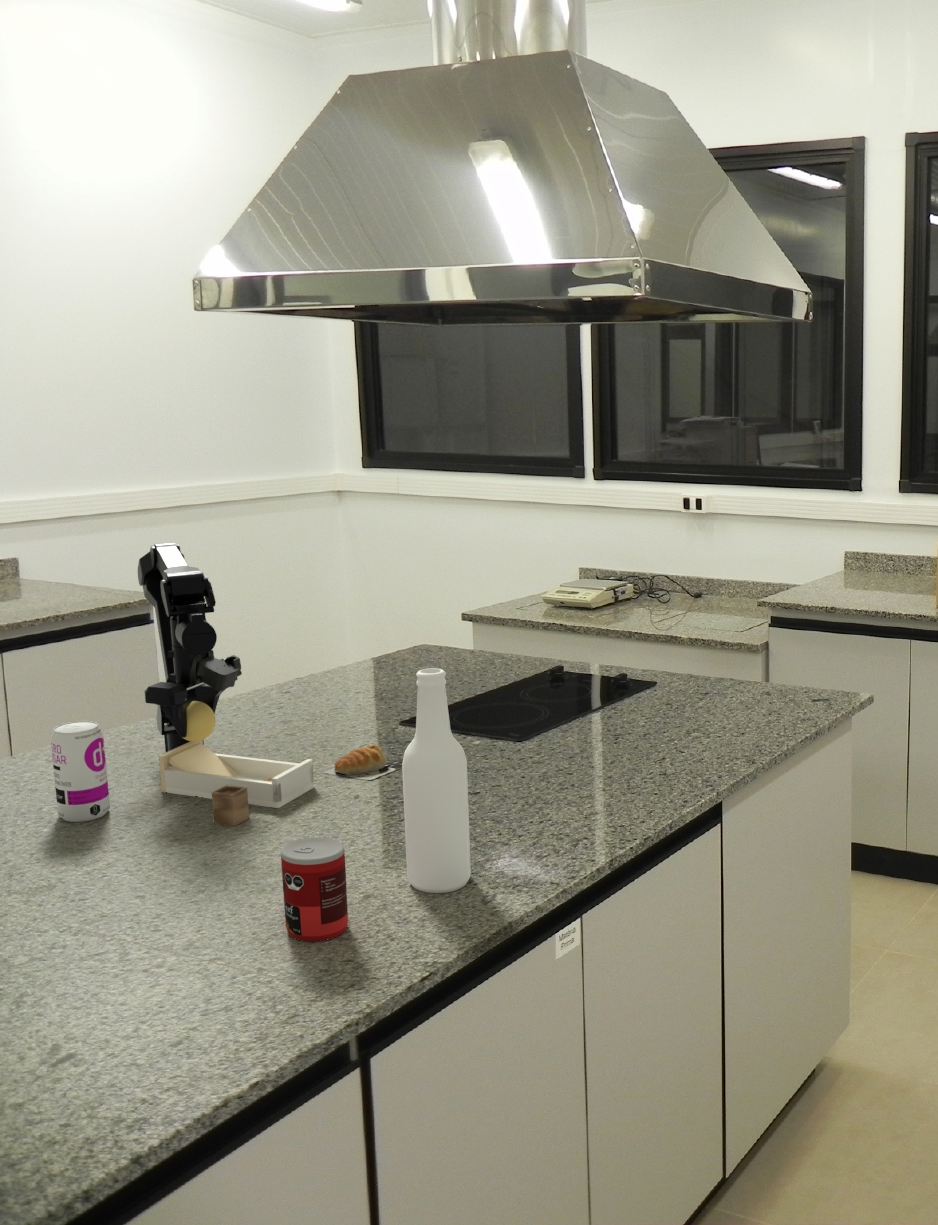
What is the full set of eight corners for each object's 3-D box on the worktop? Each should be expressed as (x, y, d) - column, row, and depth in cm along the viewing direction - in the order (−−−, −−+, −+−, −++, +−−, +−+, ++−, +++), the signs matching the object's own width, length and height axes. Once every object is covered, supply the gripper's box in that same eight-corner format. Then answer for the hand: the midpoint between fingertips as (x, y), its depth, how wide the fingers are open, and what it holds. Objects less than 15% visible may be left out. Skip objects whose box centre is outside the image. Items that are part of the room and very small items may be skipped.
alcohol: (406, 871, 173) (397, 665, 167) (468, 867, 174) (461, 662, 168) (408, 896, 164) (398, 680, 159) (473, 892, 165) (465, 677, 159)
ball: (164, 739, 209) (186, 714, 206) (168, 711, 214) (189, 686, 211) (200, 755, 212) (222, 731, 209) (203, 727, 217) (224, 703, 214)
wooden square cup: (213, 823, 194) (211, 792, 193) (228, 814, 198) (226, 784, 197) (234, 826, 193) (232, 795, 192) (249, 817, 196) (247, 787, 195)
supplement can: (120, 808, 203) (112, 721, 200) (89, 825, 195) (81, 735, 192) (79, 804, 206) (71, 718, 203) (47, 821, 198) (38, 732, 195)
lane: (161, 791, 210) (158, 755, 209) (200, 772, 220) (198, 738, 219) (278, 808, 200) (276, 770, 199) (314, 787, 210) (312, 751, 209)
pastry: (349, 780, 214) (347, 759, 213) (326, 772, 219) (324, 751, 218) (390, 767, 220) (389, 747, 220) (367, 760, 225) (366, 740, 224)
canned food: (287, 918, 159) (282, 838, 157) (349, 914, 159) (344, 835, 157) (283, 945, 151) (278, 861, 149) (348, 941, 152) (343, 857, 150)
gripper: (193, 659, 197) (200, 751, 200) (259, 635, 214) (265, 721, 217) (139, 654, 202) (146, 745, 205) (207, 631, 218) (213, 715, 221)
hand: (196, 731), depth 212 cm, fingers closed on ball, 7 cm apart
